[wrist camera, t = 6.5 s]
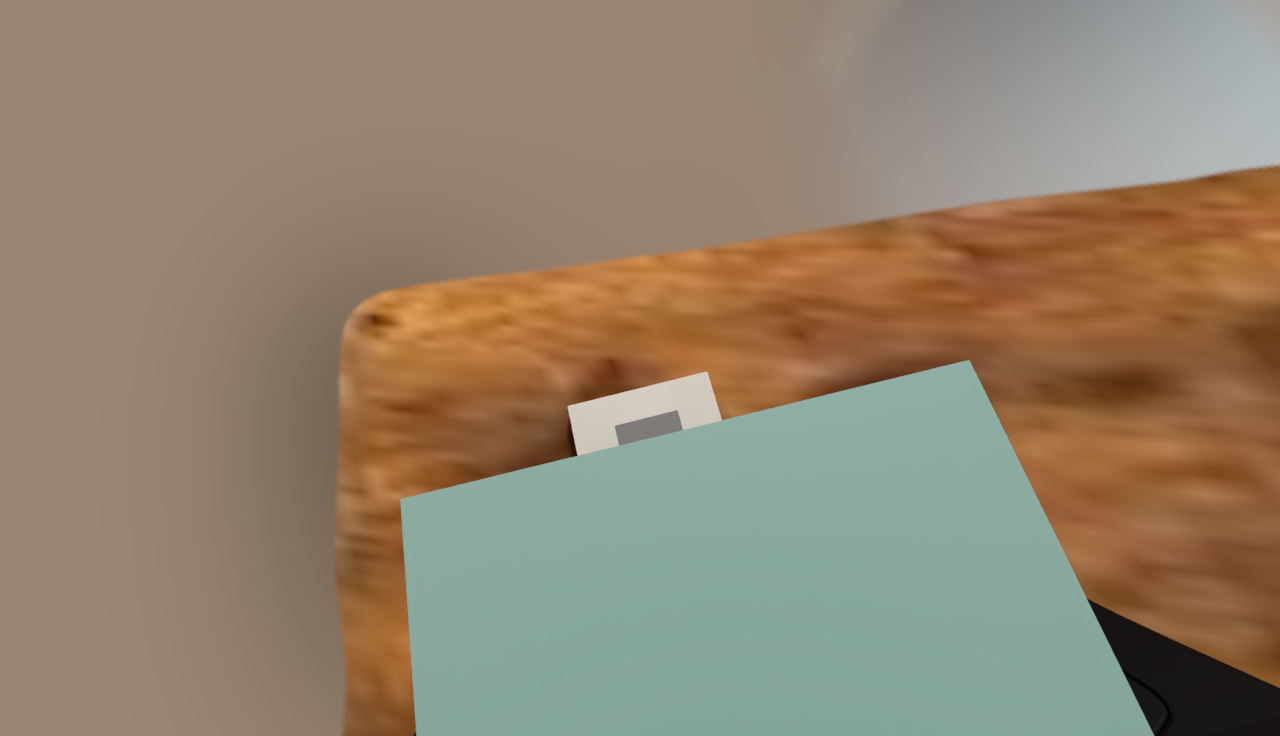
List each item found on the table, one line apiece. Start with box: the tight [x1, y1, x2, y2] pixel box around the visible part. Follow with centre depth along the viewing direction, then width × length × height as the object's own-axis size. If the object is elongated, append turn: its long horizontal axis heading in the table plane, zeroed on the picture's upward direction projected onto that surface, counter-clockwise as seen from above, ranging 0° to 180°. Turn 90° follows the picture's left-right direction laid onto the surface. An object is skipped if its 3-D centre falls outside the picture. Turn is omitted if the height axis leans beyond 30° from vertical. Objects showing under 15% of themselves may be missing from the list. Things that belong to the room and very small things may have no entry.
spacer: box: [400, 360, 1154, 736], centre depth 9 cm, size 4×5×12 cm
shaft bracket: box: [568, 372, 722, 456], centre depth 19 cm, size 15×7×4 cm, turn 14°
